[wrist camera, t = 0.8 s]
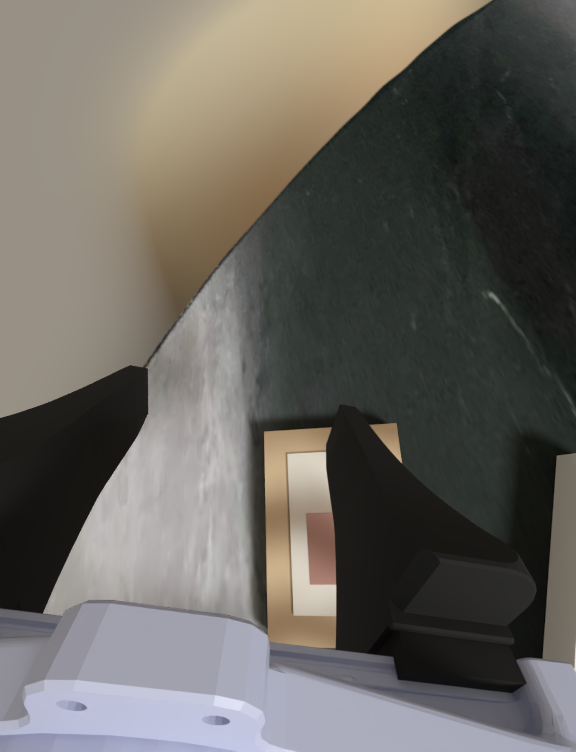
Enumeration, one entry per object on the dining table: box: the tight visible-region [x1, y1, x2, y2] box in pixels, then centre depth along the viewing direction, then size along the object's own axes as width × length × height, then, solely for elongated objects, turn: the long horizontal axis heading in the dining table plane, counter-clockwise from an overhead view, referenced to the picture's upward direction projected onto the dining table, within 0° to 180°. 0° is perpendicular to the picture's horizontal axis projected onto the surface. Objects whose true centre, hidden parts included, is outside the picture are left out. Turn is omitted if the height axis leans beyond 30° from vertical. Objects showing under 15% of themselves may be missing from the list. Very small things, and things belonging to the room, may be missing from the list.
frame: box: [264, 423, 402, 648], centre depth 24 cm, size 14×10×3 cm
